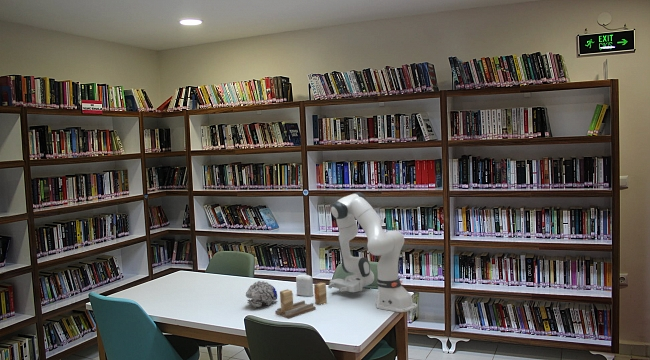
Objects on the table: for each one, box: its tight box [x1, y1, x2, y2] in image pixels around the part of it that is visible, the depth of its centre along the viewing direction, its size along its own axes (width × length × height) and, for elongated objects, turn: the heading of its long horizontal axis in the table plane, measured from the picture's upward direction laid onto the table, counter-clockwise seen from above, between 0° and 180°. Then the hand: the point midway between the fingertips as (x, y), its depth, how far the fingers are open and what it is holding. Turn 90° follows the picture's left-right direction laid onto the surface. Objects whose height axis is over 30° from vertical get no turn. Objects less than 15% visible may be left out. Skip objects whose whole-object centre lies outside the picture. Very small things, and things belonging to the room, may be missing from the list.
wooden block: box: [313, 281, 328, 306], centre depth 289 cm, size 4×6×11 cm
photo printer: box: [295, 273, 314, 298], centre depth 306 cm, size 10×4×12 cm, turn 61°
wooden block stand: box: [274, 288, 317, 319], centre depth 278 cm, size 12×18×12 cm, turn 131°
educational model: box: [245, 280, 278, 309], centre depth 292 cm, size 14×20×15 cm
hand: (334, 288), depth 296 cm, fingers open, 8 cm apart
